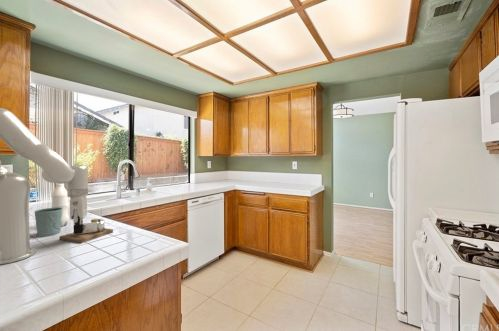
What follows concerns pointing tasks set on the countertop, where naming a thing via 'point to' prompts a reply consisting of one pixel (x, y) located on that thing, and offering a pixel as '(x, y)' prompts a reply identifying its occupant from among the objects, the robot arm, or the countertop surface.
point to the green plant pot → (48, 221)
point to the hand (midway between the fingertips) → (78, 233)
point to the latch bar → (93, 226)
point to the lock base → (85, 235)
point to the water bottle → (61, 202)
